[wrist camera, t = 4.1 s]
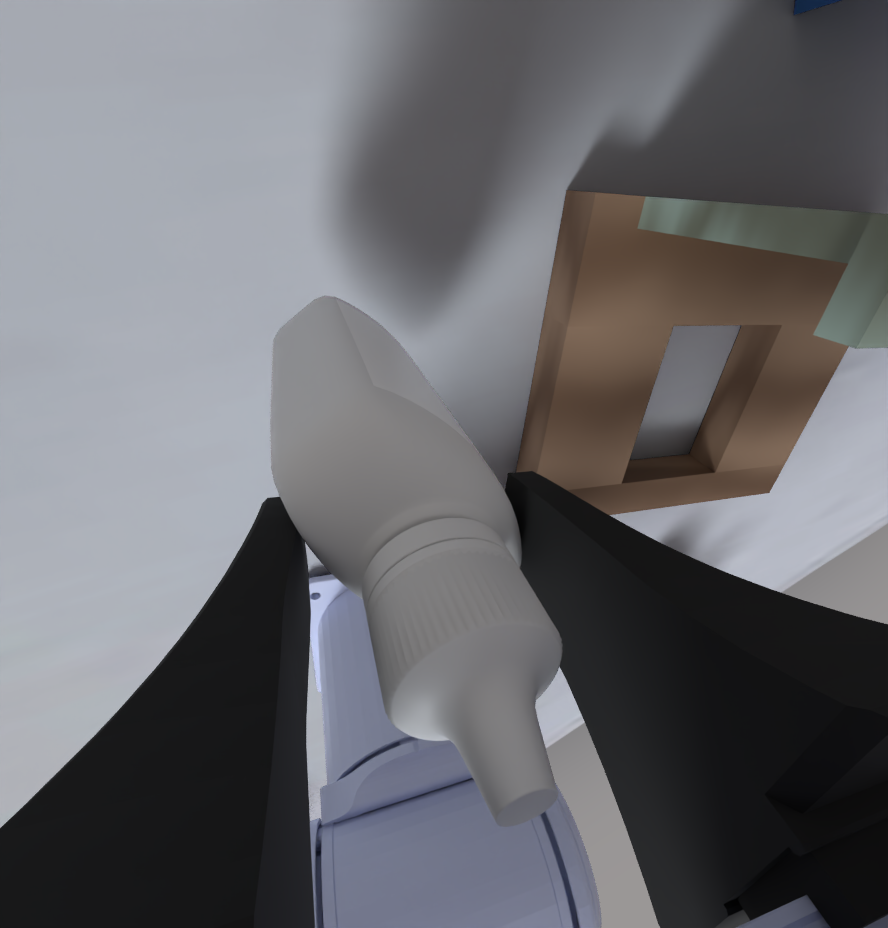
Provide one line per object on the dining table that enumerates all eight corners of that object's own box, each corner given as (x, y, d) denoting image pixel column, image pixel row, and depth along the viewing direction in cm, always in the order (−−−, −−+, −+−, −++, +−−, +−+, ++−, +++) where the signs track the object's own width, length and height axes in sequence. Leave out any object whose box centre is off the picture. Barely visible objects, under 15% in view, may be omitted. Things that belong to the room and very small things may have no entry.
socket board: (742, 474, 29) (944, 609, 20) (510, 503, 25) (636, 691, 16) (869, 215, 21) (1286, 247, 12) (566, 190, 17) (872, 211, 8)
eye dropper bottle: (415, 276, 13) (789, 552, 4) (435, 441, 16) (663, 829, 7) (260, 301, 12) (189, 755, 3) (313, 470, 16) (368, 962, 6)
